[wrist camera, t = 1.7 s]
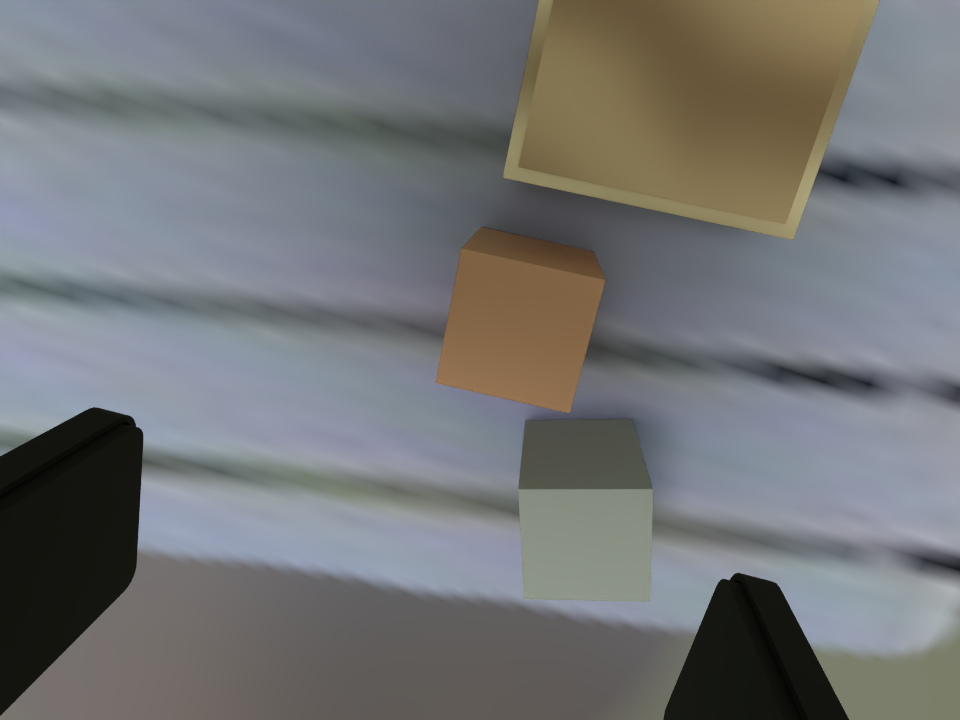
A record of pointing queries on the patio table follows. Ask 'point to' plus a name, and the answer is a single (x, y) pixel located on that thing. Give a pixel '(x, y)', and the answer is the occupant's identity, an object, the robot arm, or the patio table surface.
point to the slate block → (585, 511)
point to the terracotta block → (520, 319)
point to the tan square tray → (687, 103)
